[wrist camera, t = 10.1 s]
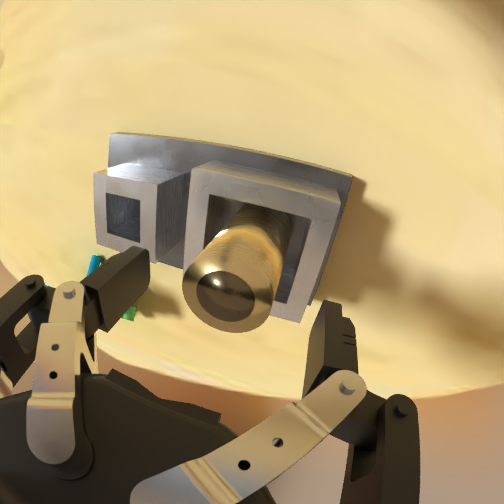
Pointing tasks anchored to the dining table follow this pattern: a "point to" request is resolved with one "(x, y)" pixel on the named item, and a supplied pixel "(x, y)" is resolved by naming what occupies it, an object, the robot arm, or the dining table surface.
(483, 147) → the dining table surface
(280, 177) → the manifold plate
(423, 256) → the dining table surface
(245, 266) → the cylinder
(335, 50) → the dining table surface
